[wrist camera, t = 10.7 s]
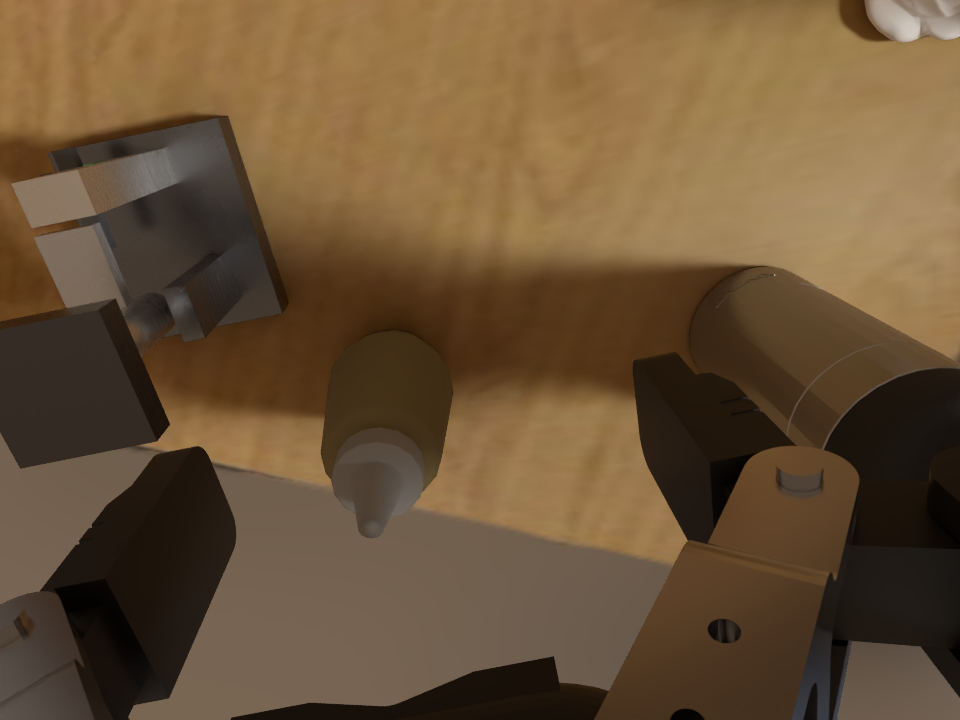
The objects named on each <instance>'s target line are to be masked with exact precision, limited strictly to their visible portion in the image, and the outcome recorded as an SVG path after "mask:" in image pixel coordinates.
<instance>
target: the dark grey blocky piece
mask: <svg viewBox="0 0 960 720" xmlns="http://www.w3.org/2000/svg"><path fill="white" fill-rule="evenodd" d="M34 239H35V242H36V244H37V246H38V248H39V250H40V252H41V254H42V257H43V259H44V261H45V263H46V265H47V267H48V269H49V272H50V274H51V276H52V278H53V280H54V282H55V284H56V287H57V289H58V291H59V293H60V295H61V297H62V299H63V302H64V304H65V306H66V308H65V309H60V310H55V311H50V312H45V313H41V314H36V315H31V316H26V317H21V318H16V319H11V320H6V321H1V322H0V433H1V434H2V436H3V438H4V440H5V442H6V443H7V445H8V447H9V449H10V451H11V452H12V454H13V456H14V458H15V460H16V462H17V463H18V465H19V467H20V468H25V467H30V466H36V465H40V464H46V463H50V462H56V461H61V460H66V459H71V458H75V457H81V456H86V455H90V454H96V453H101V452H105V451H110V450H116V449H121V448H126V447H131V446H136V445H141V444H146V443H151V442H156V441H158V439H159V438H160V437H161V435H162V434H163V433H164V432H165V430H166V429H167V428H168V426H169V425H170V423H169V421H168V418H167V416H166V414H165V411H164V409H163V407H162V404H161V402H160V400H159V398H158V395H157V393H156V391H155V388H154V386H153V384H152V381H151V379H150V377H149V374H148V372H147V370H146V367H145V365H144V363H143V360H142V358H141V357H142V356H143V355H144V354H145V353H147V352H148V351H149V350H150V349H151V348H152V347H153V346H154V345H155V344H156V343H157V342H158V341H159V340H160V339H162V338H163V337H164V336H165V335H166V334H167V333H168V332H169V331H170V330H171V329H172V328H173V327H174V326H175V324H176V323H175V321H174V318H173V316H172V313H171V311H170V308H169V306H168V303H167V301H166V298H165V296H163V295H161V294H158V293H153V292H148V293H143V294H141V295H139V296H138V297H136V298H135V299H133V300H132V298H131V295H130V293H129V291H128V288H127V286H126V283H125V281H124V279H123V276H122V274H121V272H120V269H119V267H118V264H117V262H116V260H115V257H114V255H113V253H112V250H111V248H110V245H109V243H108V241H107V238H106V236H105V234H104V231H103V229H102V226H101V224H100V222H98V223H93V224H88V225H83V226H79V227H74V228H69V229H64V230H59V231H54V232H50V233H45V234H41V235H39V236H36V237H34Z"/></svg>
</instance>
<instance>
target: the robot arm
mask: <svg viewBox="0 0 960 720" xmlns="http://www.w3.org/2000/svg"><path fill="white" fill-rule="evenodd" d="M690 348H691V352H692V356H693V359H694V361H695V363H696V365H697V366H698V368H699V369H700V370H701V371H702V373H703V374H698V375H695V373H694V372H693V371H692V370H691V369H690V368H689V367H688V365H687V364H686V363H685V362H684V361H683V360H682V359H681V358H680V356H679V355H678V354H677V353H675V352H673V353H668V354H663V355H658V356H653V357H648V358H643V359H638V360H634V362H633V379H634V388H635V397H636V406H637V415H638V425H639V434H640V441H641V446H642V450H643V454H644V457H645V460H646V463H647V466H648V468H649V470H650V472H651V474H652V475H653V477H654V479H655V481H656V483H657V485H658V487H659V488H660V490H661V492H662V494H663V496H664V498H665V499H666V501H667V503H668V505H669V507H670V509H671V510H672V512H673V514H674V516H675V518H676V520H677V521H678V523H679V525H680V527H681V529H682V531H683V532H684V534H685V536H686V538H687V540H688V542H687V543H686V544H685V545H684V547H683V548H682V550H681V552H680V554H679V556H678V558H677V560H676V561H675V563H674V565H673V567H672V569H671V571H670V573H669V575H668V577H667V579H666V581H665V583H664V585H663V587H662V589H661V591H660V593H659V595H658V596H657V598H656V600H655V602H654V604H653V606H652V608H651V610H650V612H649V614H648V616H647V618H646V620H645V622H644V624H643V626H642V628H641V630H640V631H639V633H638V636H637V637H636V639H635V641H634V643H633V645H632V647H631V649H630V651H629V653H628V655H627V657H626V659H625V661H624V663H623V664H622V667H621V668H620V671H619V672H618V674H617V676H616V678H615V680H614V682H613V684H612V686H611V688H610V690H609V691H607V690H604V689H600V688H596V687H591V686H586V685H580V684H570V683H559V680H558V675H557V670H556V665H555V660H554V656H553V657H548V658H543V659H538V660H533V661H527V662H522V663H517V664H511V665H506V666H501V667H496V668H490V669H486V670H480V671H475V672H472V673H470V674H467V675H465V676H462V677H460V678H458V679H455V680H453V681H451V682H448V683H446V684H444V685H441V686H439V687H436V688H434V689H432V690H429V691H427V692H424V693H422V694H420V695H417V696H415V697H413V698H410V699H408V700H406V701H403V702H401V703H398V704H395V705H391V706H364V705H344V704H324V703H323V704H322V703H306V704H301V705H296V706H290V707H285V708H280V709H275V710H269V711H264V712H259V713H254V714H249V715H243V716H238V717H233V718H231V720H837V719H838V713H839V708H840V703H841V697H842V692H843V687H844V682H845V677H846V672H847V666H848V660H849V656H850V651H851V645H852V641H861V642H873V643H886V644H898V645H910V646H921V647H922V649H923V650H924V651H925V653H926V654H927V655H928V657H929V658H930V659H931V661H932V662H933V663H934V665H935V666H936V667H937V669H938V670H939V671H940V672H941V674H942V675H943V676H944V678H945V679H946V680H947V682H948V683H949V684H950V685H951V687H952V688H953V689H954V691H955V692H956V693H957V694H958V696H959V697H960V363H958V362H956V361H954V360H952V359H951V358H949V357H947V356H945V355H943V354H941V353H940V352H938V351H936V350H934V349H932V348H930V347H928V346H926V345H924V344H922V343H920V342H919V341H917V340H915V339H913V338H911V337H909V336H908V335H906V334H904V333H902V332H900V331H898V330H897V329H895V328H893V327H891V326H889V325H887V324H885V323H884V322H882V321H880V320H878V319H876V318H874V317H873V316H871V315H869V314H867V313H865V312H863V311H862V310H860V309H858V308H856V307H854V306H852V305H850V304H849V303H847V302H845V301H843V300H841V299H839V298H838V297H836V296H834V295H832V294H830V293H828V292H827V291H825V290H823V289H821V288H819V287H818V286H816V285H814V284H812V283H810V282H808V281H806V280H805V279H803V278H801V277H799V276H797V275H795V274H793V273H791V272H789V271H787V270H784V269H780V268H775V267H756V268H751V269H747V270H743V271H741V272H738V273H736V274H734V275H732V276H729V277H728V278H726V279H725V280H724V281H722V282H721V283H719V284H718V285H717V286H716V287H715V288H714V289H712V290H711V291H710V292H709V293H708V294H707V295H706V297H705V298H704V300H703V301H702V303H701V304H700V306H699V307H698V309H697V311H696V314H695V316H694V318H693V321H692V325H691V330H690ZM79 542H80V544H78V545H75V547H74V548H73V549H72V550H71V552H70V553H69V555H68V556H67V557H66V558H65V559H64V561H63V562H62V563H61V565H60V566H59V567H58V568H57V570H56V571H55V572H54V574H53V575H52V576H51V578H50V579H49V580H48V581H47V583H46V584H45V585H44V587H43V588H42V589H41V590H40V591H39V592H34V593H28V594H25V595H22V596H18V597H16V598H14V599H11V600H9V601H6V602H5V603H2V604H0V720H130V719H129V717H128V716H129V714H130V712H131V710H132V708H133V706H134V705H136V704H142V703H147V702H152V701H157V700H163V699H167V698H169V697H170V695H171V693H172V690H173V688H174V686H175V683H176V681H177V679H178V676H179V674H180V672H181V670H182V667H183V665H184V663H185V660H186V658H187V656H188V653H189V651H190V649H191V647H192V644H193V642H194V640H195V637H196V635H197V633H198V630H199V628H200V626H201V623H202V621H203V619H204V617H205V614H206V612H207V610H208V608H209V605H210V603H211V601H212V598H213V596H214V594H215V591H216V589H217V587H218V585H219V582H220V580H221V578H222V575H223V573H224V571H225V568H226V566H227V564H228V562H229V559H230V557H231V555H232V552H233V550H234V547H235V543H236V526H235V520H234V517H233V514H232V511H231V509H230V506H229V504H228V501H227V499H226V497H225V494H224V492H223V489H222V487H221V485H220V482H219V480H218V478H217V475H216V473H215V470H214V468H213V465H212V463H211V460H210V458H209V456H208V454H207V453H206V451H205V450H204V449H203V448H201V447H199V446H196V447H191V448H186V449H181V450H176V451H171V452H166V453H161V454H157V455H155V456H154V457H153V458H152V460H151V461H150V462H149V463H148V465H147V466H146V467H145V469H144V470H143V471H142V473H141V474H140V476H139V477H138V478H137V479H136V481H135V482H134V483H133V485H132V486H130V487H129V488H128V489H127V490H125V491H124V492H123V493H122V494H120V495H119V496H118V497H116V498H115V499H114V500H113V501H111V502H110V503H109V504H108V505H107V506H106V507H105V508H104V510H103V511H102V512H101V513H100V515H99V516H98V517H97V519H96V520H95V521H94V522H93V524H92V528H89V529H88V530H87V531H86V533H85V534H84V535H83V537H82V538H81V539H80V540H79Z"/></svg>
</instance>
